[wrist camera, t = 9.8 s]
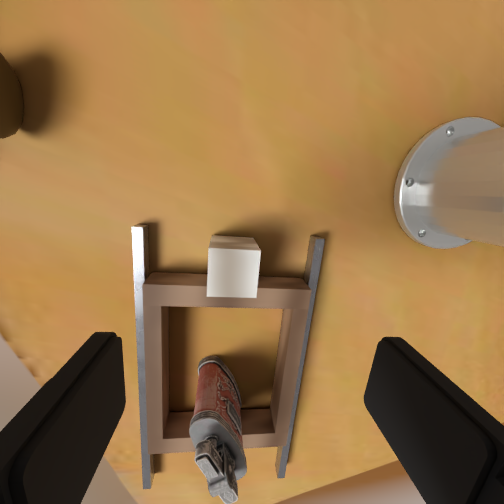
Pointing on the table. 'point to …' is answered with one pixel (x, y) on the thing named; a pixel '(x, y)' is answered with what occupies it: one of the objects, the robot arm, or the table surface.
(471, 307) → the table surface
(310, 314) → the guide rails
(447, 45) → the table surface
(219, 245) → the sliding frame
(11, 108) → the kendama
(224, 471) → the lighter
